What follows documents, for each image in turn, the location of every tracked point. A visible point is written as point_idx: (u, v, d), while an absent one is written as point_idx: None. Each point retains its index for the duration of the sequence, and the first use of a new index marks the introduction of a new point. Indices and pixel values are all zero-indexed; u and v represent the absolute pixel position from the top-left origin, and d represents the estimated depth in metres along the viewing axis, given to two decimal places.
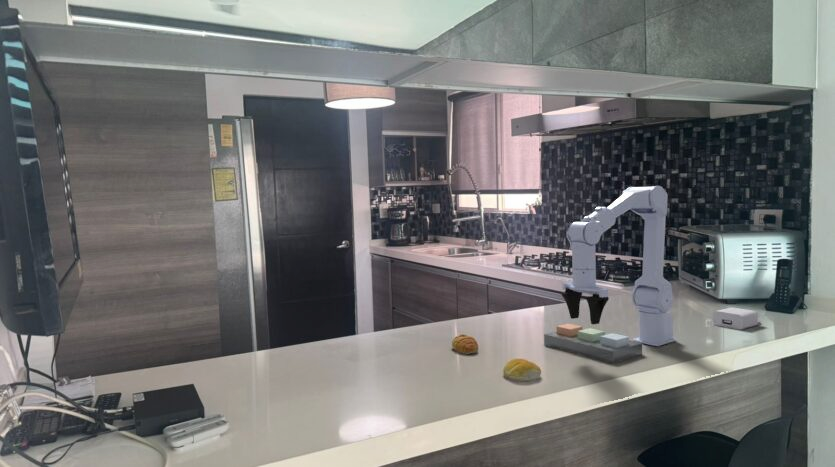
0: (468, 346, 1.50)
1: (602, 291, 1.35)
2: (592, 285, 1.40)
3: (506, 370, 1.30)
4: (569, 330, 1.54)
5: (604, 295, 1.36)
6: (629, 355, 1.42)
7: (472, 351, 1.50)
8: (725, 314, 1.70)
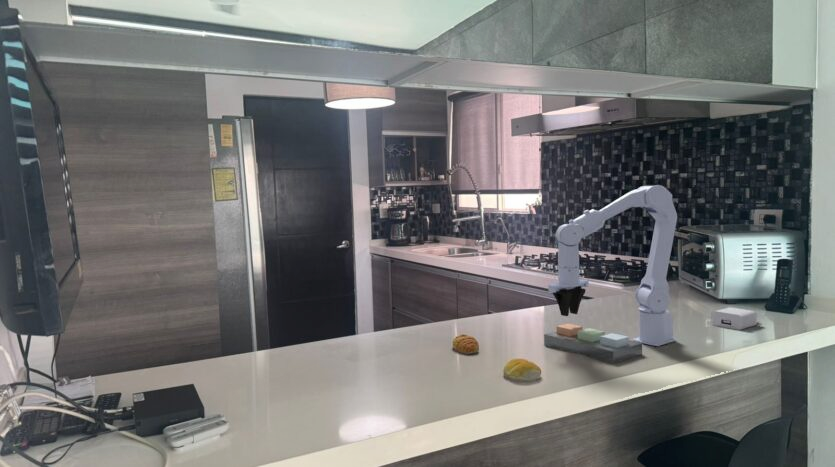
0: (468, 346, 1.51)
1: (549, 286, 1.53)
2: (562, 282, 1.55)
3: (506, 370, 1.30)
4: (569, 330, 1.54)
5: (550, 290, 1.52)
6: (629, 355, 1.42)
7: (473, 351, 1.50)
8: (724, 314, 1.70)
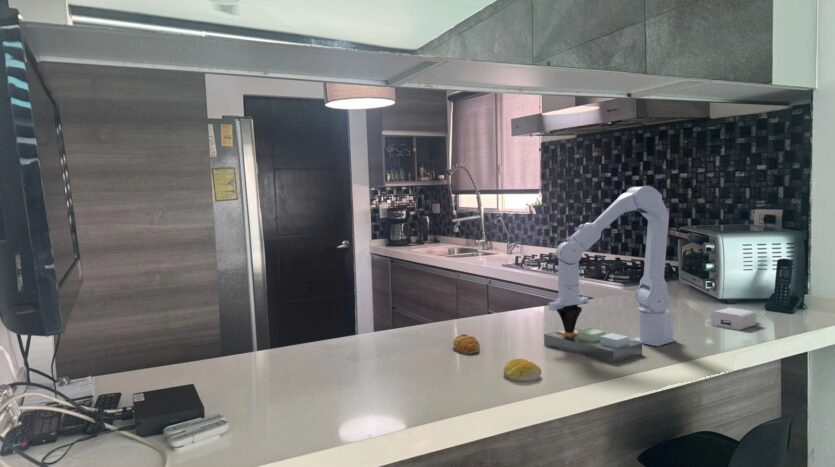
0: (469, 346, 1.51)
1: (549, 304, 1.53)
2: (562, 300, 1.55)
3: (506, 370, 1.30)
4: (569, 336, 1.54)
5: (550, 308, 1.53)
6: (629, 355, 1.42)
7: (474, 351, 1.50)
8: (724, 314, 1.70)
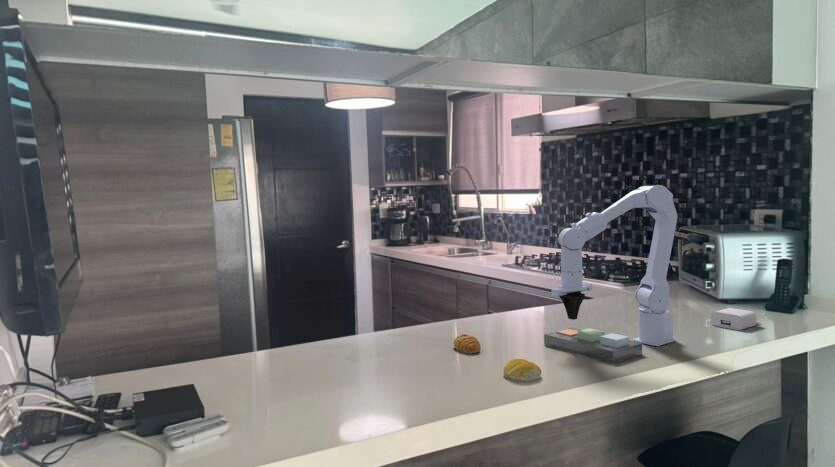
0: (470, 346, 1.51)
1: (552, 290, 1.52)
2: (565, 286, 1.54)
3: (506, 370, 1.30)
4: (569, 336, 1.54)
5: (553, 294, 1.52)
6: (629, 355, 1.42)
7: (475, 351, 1.50)
8: (724, 315, 1.70)
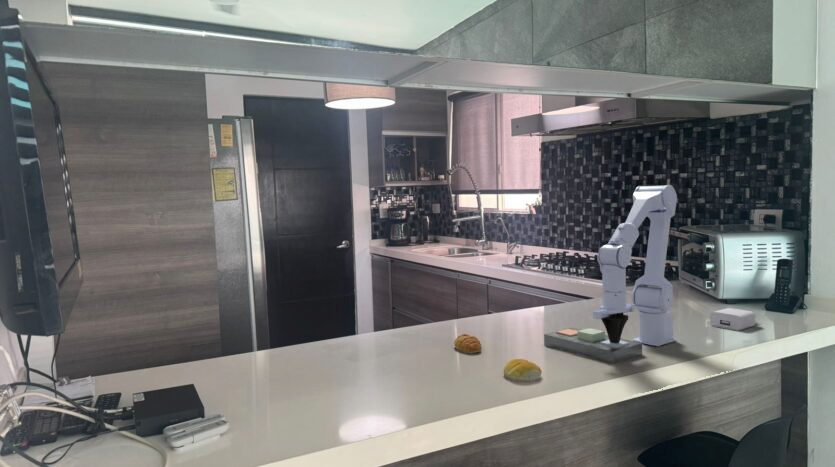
0: (471, 346, 1.51)
1: (593, 312, 1.41)
2: (607, 307, 1.42)
3: (506, 370, 1.30)
4: (569, 336, 1.54)
5: (595, 317, 1.40)
6: (629, 355, 1.42)
7: (476, 350, 1.50)
8: (723, 315, 1.70)
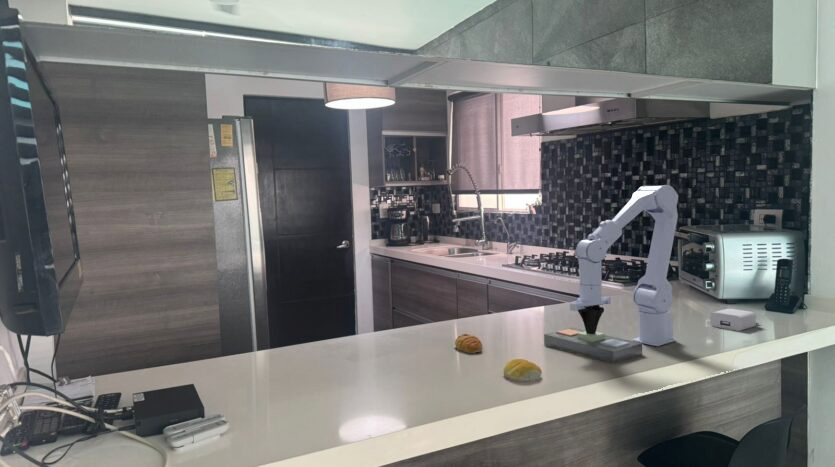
0: (472, 346, 1.51)
1: (570, 304, 1.47)
2: (584, 300, 1.49)
3: (506, 370, 1.30)
4: (569, 336, 1.54)
5: (572, 308, 1.47)
6: (629, 355, 1.42)
7: (477, 350, 1.51)
8: (723, 315, 1.69)
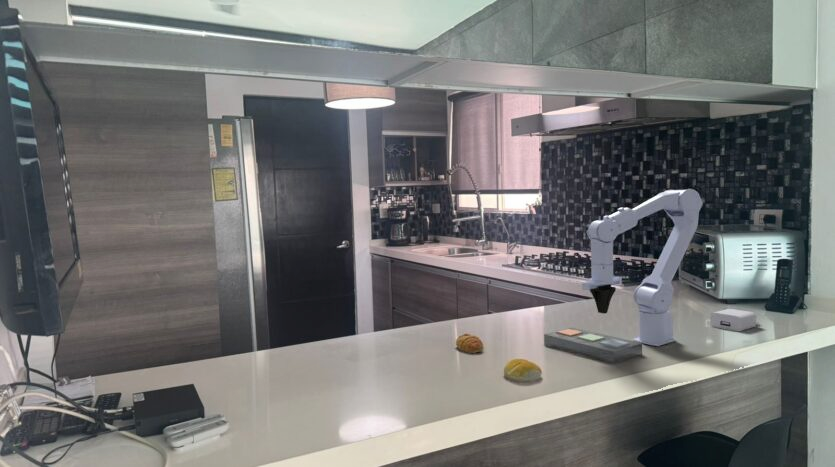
0: (473, 345, 1.51)
1: (582, 284, 1.49)
2: (596, 279, 1.51)
3: (506, 370, 1.30)
4: (569, 336, 1.54)
5: (584, 288, 1.49)
6: (629, 355, 1.42)
7: (478, 350, 1.51)
8: (723, 316, 1.68)
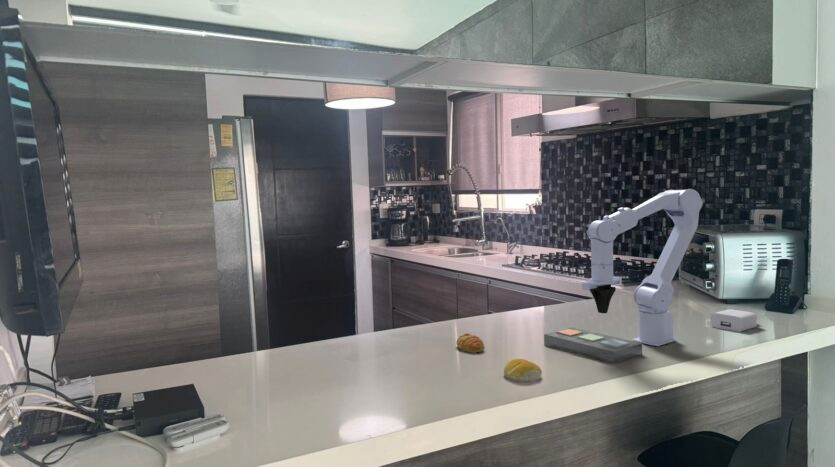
0: (474, 345, 1.52)
1: (582, 283, 1.49)
2: (596, 279, 1.51)
3: (506, 370, 1.30)
4: (569, 336, 1.54)
5: (584, 288, 1.49)
6: (629, 355, 1.42)
7: (479, 350, 1.51)
8: (724, 316, 1.68)
